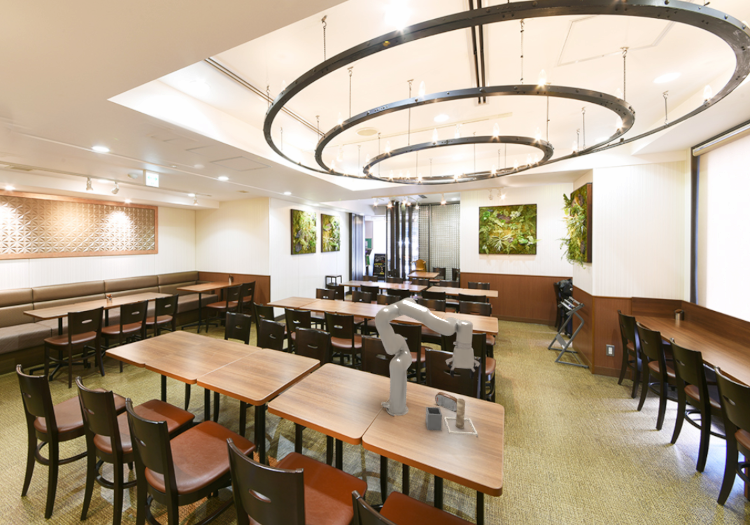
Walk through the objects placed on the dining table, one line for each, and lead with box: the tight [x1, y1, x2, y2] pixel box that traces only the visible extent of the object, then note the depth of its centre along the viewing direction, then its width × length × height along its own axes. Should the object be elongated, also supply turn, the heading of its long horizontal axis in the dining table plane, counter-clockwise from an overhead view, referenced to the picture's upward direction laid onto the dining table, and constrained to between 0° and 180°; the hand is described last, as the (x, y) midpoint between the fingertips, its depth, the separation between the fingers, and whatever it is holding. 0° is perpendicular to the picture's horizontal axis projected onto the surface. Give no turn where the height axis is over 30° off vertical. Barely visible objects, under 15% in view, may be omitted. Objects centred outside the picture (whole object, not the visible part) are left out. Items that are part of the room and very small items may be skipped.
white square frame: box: [443, 416, 479, 438], centre depth 148 cm, size 14×13×2 cm
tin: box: [434, 391, 458, 413], centre depth 166 cm, size 15×3×8 cm, turn 49°
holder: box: [425, 406, 443, 432], centre depth 148 cm, size 7×7×9 cm
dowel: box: [455, 398, 466, 430], centre depth 148 cm, size 4×4×14 cm
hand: (461, 377), depth 147 cm, fingers open, 9 cm apart
